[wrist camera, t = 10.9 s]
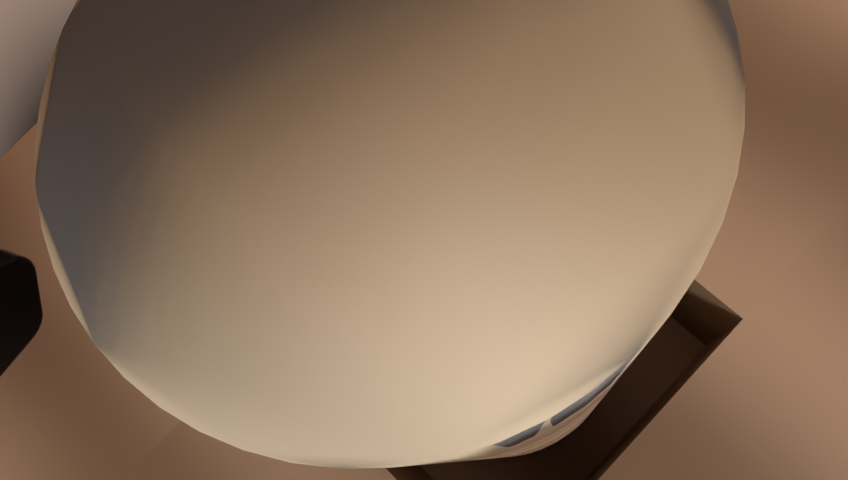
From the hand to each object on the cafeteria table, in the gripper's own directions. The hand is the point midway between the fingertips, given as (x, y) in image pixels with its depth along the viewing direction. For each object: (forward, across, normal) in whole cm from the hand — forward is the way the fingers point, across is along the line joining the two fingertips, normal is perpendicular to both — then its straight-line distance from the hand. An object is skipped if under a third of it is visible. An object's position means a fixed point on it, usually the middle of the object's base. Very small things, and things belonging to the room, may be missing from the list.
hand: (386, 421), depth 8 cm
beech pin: (+8, 0, +5) cm, 9 cm away
